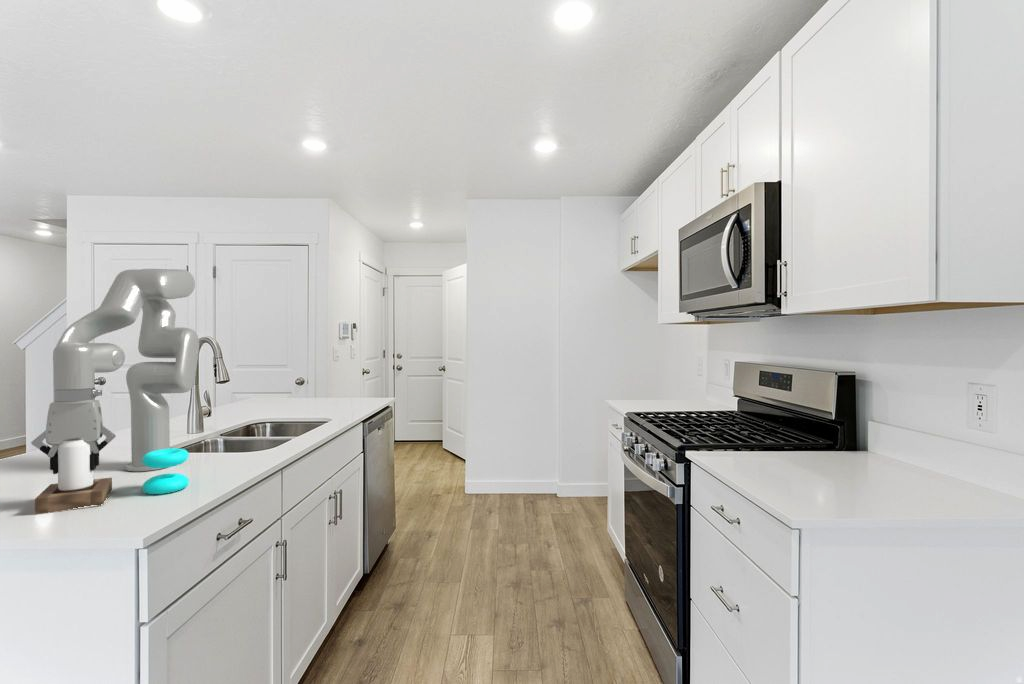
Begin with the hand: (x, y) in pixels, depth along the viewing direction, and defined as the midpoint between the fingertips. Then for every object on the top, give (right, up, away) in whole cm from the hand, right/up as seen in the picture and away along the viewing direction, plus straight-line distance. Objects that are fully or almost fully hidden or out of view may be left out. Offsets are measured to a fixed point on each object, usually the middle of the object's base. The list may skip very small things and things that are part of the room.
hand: (75, 470), depth 124 cm
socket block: (0, -8, 0) cm, 8 cm away
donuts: (+15, -8, +10) cm, 20 cm away
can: (0, -4, 0) cm, 4 cm away
